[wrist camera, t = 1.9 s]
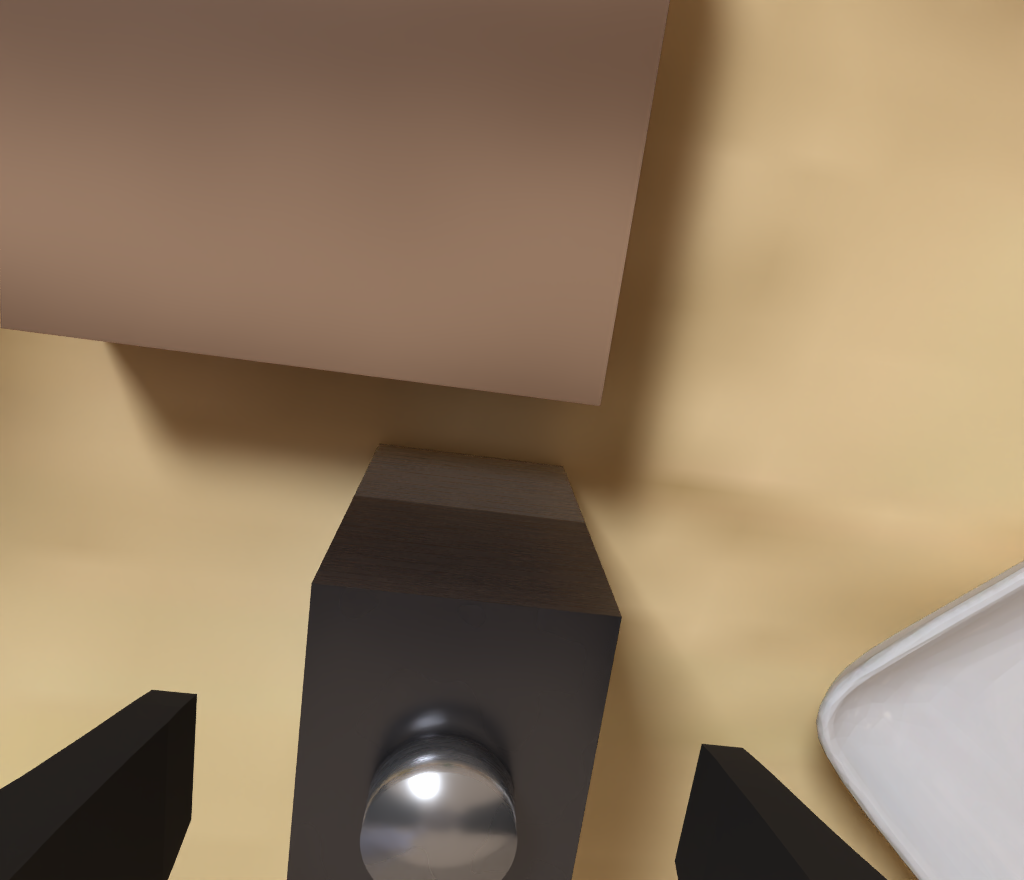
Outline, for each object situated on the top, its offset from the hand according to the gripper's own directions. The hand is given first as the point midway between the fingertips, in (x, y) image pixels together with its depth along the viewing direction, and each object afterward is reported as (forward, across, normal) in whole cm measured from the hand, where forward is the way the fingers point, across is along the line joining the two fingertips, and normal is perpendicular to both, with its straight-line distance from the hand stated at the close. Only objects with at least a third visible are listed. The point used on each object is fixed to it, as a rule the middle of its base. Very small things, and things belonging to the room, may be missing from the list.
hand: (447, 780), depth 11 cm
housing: (+7, 0, 0) cm, 7 cm away
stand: (+7, +3, -10) cm, 12 cm away
